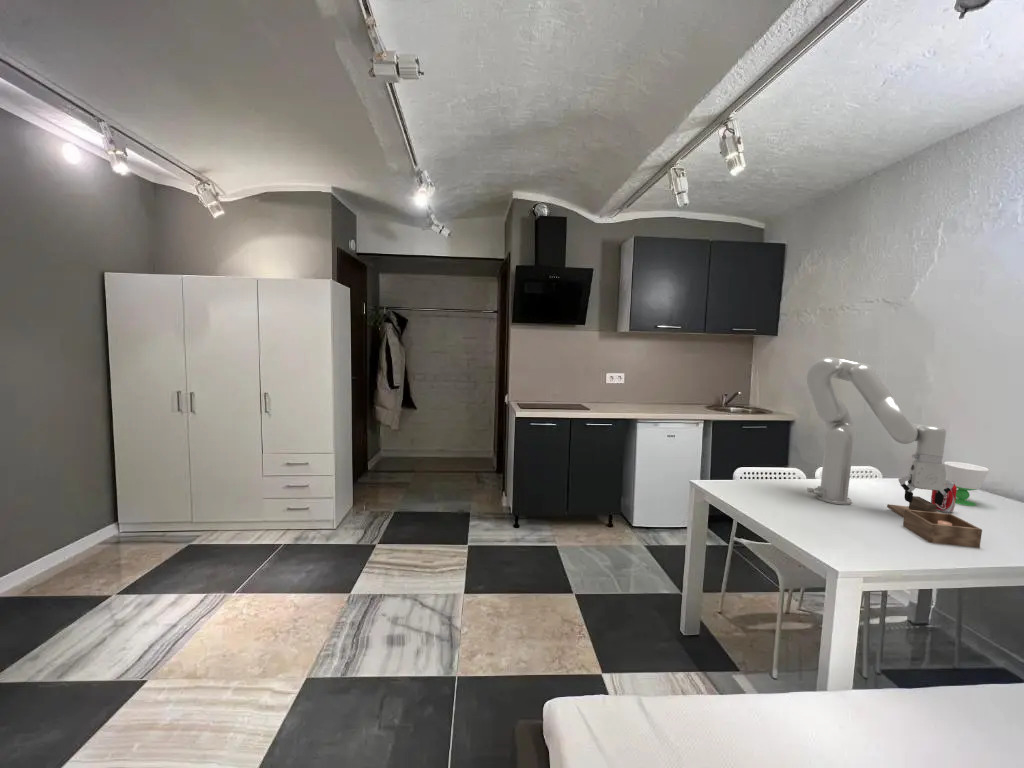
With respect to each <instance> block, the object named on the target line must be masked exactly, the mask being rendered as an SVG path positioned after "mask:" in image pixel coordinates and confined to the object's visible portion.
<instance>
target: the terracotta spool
mask: <svg viewBox="0 0 1024 768" xmlns="http://www.w3.org/2000/svg"><path fill="white" fill-rule="evenodd" d="M938 524H941V525H951V526H952V523H950V522H947V521H942V520H938Z"/></svg>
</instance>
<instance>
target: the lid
mask: <svg viewBox="0 0 1024 768" xmlns="http://www.w3.org/2000/svg"><path fill="white" fill-rule="evenodd" d="M908 503H909V502H908ZM886 505H887V506H886V508H888V510H891V511H892V512H894V513H896V514H897V515H899V516H901V517H903V518H904V513H905V509H906V510H916V511H927V512H937V513H940V511H936V507H937V505H935V504H933V503H931V501H929V500H927V499H924V498H923V497H920V496H916V495H913V499H912V503H909V504H908V505H907V506H906V505H900V504H899V505H897V504H886Z"/></svg>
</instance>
